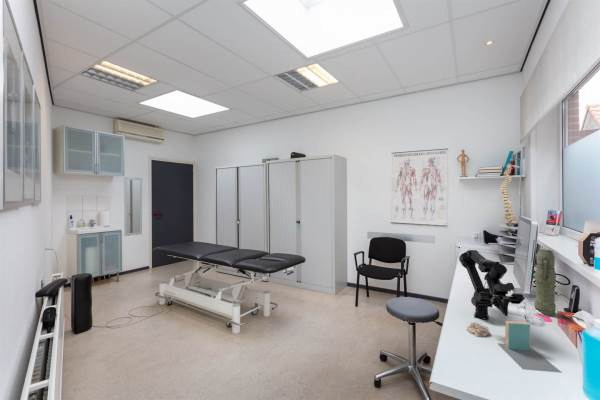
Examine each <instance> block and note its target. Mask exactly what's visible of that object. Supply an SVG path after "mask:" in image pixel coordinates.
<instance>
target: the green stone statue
mask: <svg viewBox="0 0 600 400" xmlns="http://www.w3.org/2000/svg"><path fill="white" fill-rule="evenodd" d="M555 258H556V257H555V253H554V252H553V251H552V250H550V249H539V250H538V251H537V254H536V268H535V270H534V271H535V272H534V280H535V299H534V310H535V309H536V310H538V311H539V312H541V313H542V314H544V315H543V316H545V315H546V316H547V317H555V316H556V309H557V307H556V303H555V296H556V295H555V293H556V292H555V289H556V288H555V285H556V284H557V274H556V271H555V269H556V268H555V263H556V259H555ZM546 316H545V317H546Z"/></svg>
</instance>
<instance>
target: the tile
mask: <svg viewBox="0 0 600 400" xmlns="http://www.w3.org/2000/svg"><path fill="white" fill-rule="evenodd" d="M530 326H531V324H530V323H528V322H527V321H512V320H505V340H504V341H505V343H504V344H505V346H506V347H507V348H508V349H517V350H529V346H531V345H530V343H531V342H530V335H531V334H530V333H531V332H530V331H531V330H530V328H531V327H530Z"/></svg>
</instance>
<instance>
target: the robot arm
mask: <svg viewBox="0 0 600 400" xmlns="http://www.w3.org/2000/svg"><path fill="white" fill-rule="evenodd" d="M458 258H459V259H458V260H459V262H460V264H461V266H462V267H464V268H465V269H466V272H467V273H468V276H469V279H470V281H471V284H472V286H473V289H474V292H473V296H472V297H471V299H470V301H471V304H472V305H473V306H474V307H475V311H474V314H473V317H474V318H477V319H482V320H490V317H489V308H493V306H495V308H496V309H498V311H500V312H501V314H503V315H504V316H506V317H507V316H508V315H509V304H510V303H511V304H512V305H521V304H522V302H523V301H525V299H526V298H525V296H524V295H523V294H522V293H519V292H518V293H516V292H514V293H512V294H511V295H508V294H509V292H512V291H513V290H515V286H514V285H515V284H513V282H507V283H503V282H501V280H502V278H503V277H504V276H505V274H506V273H508V268H507V267H506V266H505V265H504V264H502V263H500V261H494V260H492V259H487V258H485V257H484V256H483V255H482V254H481V253H480V252H479V251H478V250H475V249H468V250H467V251H465V252H463V253H461V254H460V255H459V257H458ZM476 264H477V265H478V266H477V267H478V269H477V267H476ZM478 270H479V271H480V272H481V273H486V274H485V275H484V278H483V279H484V281H486V283H487V286H488V287H485V286H484V284H483V281H482V279H481V276H480V274H479V272H478Z"/></svg>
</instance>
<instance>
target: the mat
mask: <svg viewBox="0 0 600 400" xmlns="http://www.w3.org/2000/svg"><path fill="white" fill-rule="evenodd" d="M496 344H497V345H498V347H500V348H501V349H502V350H503V351H504V353H506V354H507V355H508V356H509V357H510V358H511V359H512V360H513V361H514V362H515V363H516V364H517V365H518V366H519V367H520V368H521V369H522V370H525V371H527V370H528V371H539V372H550V373H562V371H561V370H559V369H558V368H557V367H556V366H555V365H554V364H553V363H551V362H550V361H549V360H548V359H547V358H545V357H544V356H543V355H542V354H540V353H539V352H538V351H537V350H536V349H535V348H534V347H532V346H531V345H530V346H529V350H517V349H508V348H507V347H506V346H505V343H500V342H497V343H496Z"/></svg>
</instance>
